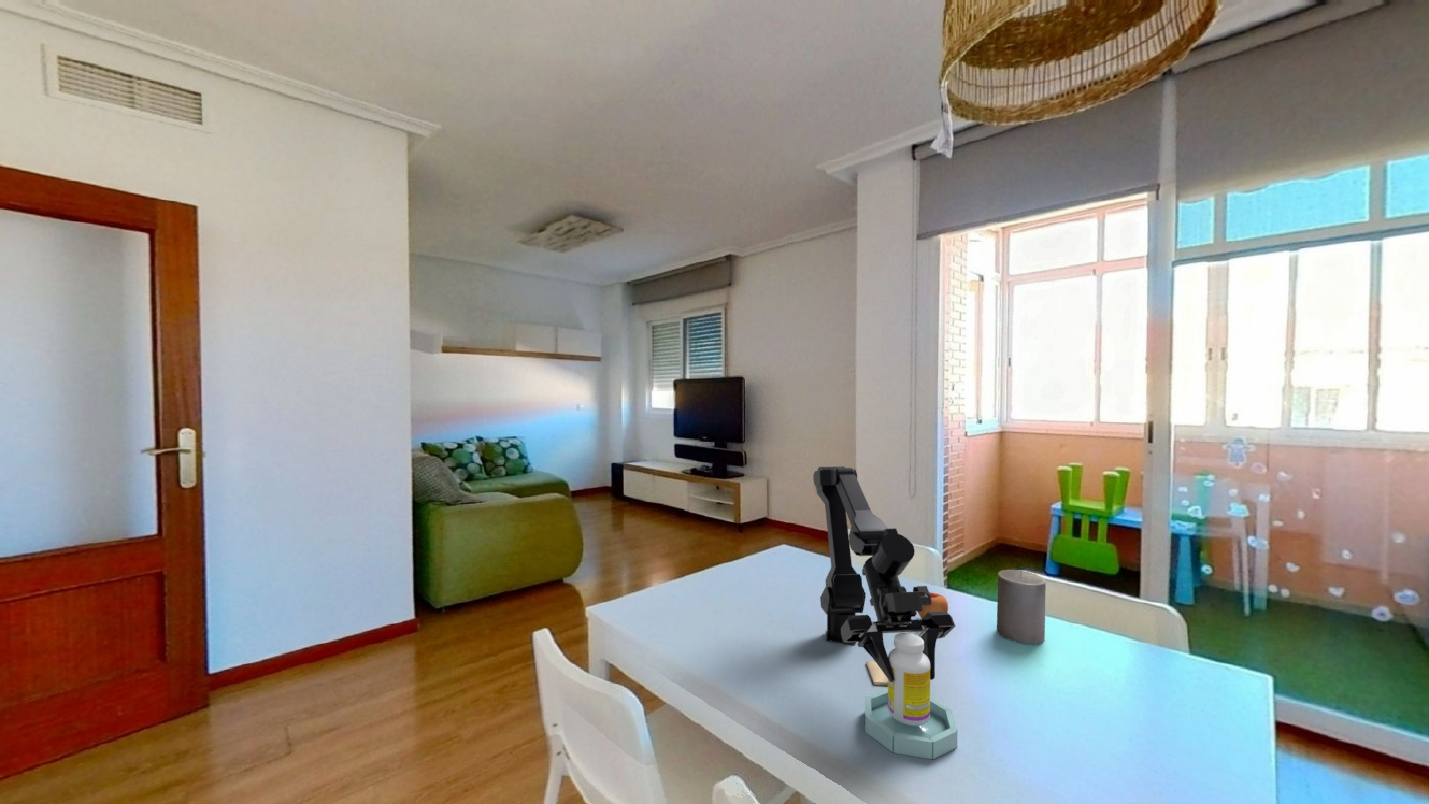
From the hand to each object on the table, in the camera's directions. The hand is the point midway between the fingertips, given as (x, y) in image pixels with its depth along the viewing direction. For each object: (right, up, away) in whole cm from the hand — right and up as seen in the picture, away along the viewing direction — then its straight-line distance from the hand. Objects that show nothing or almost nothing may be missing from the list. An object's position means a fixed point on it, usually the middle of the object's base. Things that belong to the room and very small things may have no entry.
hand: (912, 680), depth 87 cm
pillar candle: (+38, -8, +35) cm, 53 cm away
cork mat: (+3, -8, +18) cm, 20 cm away
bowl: (0, -9, +1) cm, 9 cm away
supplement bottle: (0, -7, +1) cm, 7 cm away
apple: (+21, -8, +42) cm, 48 cm away
